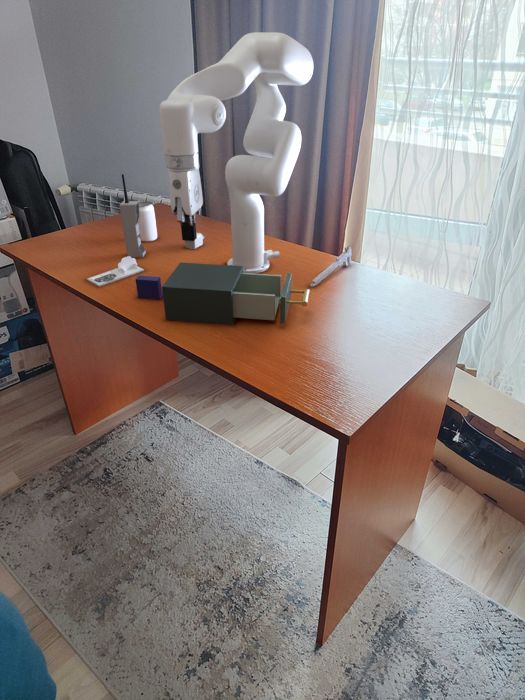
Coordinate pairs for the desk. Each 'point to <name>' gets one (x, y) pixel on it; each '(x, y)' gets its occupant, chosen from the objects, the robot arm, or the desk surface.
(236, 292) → the drawer
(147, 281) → the card deck
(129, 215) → the vintage mobile phone
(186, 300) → the cabinet
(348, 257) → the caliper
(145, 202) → the can
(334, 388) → the desk surface
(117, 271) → the car cutout
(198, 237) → the usb wall charger
